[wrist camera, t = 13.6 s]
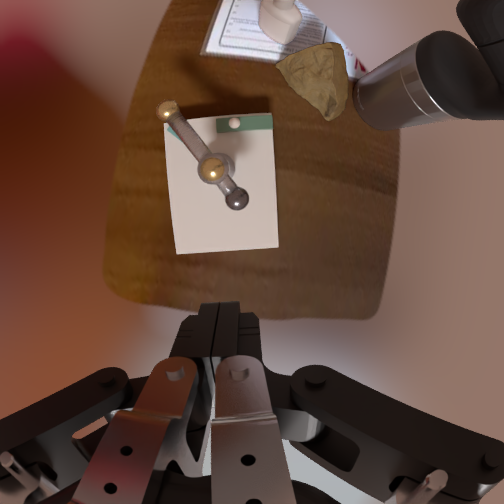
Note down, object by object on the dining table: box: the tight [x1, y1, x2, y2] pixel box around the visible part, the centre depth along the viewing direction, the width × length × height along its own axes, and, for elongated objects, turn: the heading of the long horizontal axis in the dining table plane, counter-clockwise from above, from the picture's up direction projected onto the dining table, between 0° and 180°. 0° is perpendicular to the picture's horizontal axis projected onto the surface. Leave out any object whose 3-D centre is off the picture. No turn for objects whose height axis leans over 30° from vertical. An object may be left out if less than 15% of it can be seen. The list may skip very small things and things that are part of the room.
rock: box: [276, 42, 348, 121], centre depth 31 cm, size 11×9×10 cm
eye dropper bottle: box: [259, 0, 302, 45], centre depth 25 cm, size 4×6×12 cm
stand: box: [164, 113, 278, 254], centre depth 35 cm, size 14×18×5 cm
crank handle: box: [156, 99, 249, 211], centre depth 29 cm, size 15×3×6 cm, turn 36°
